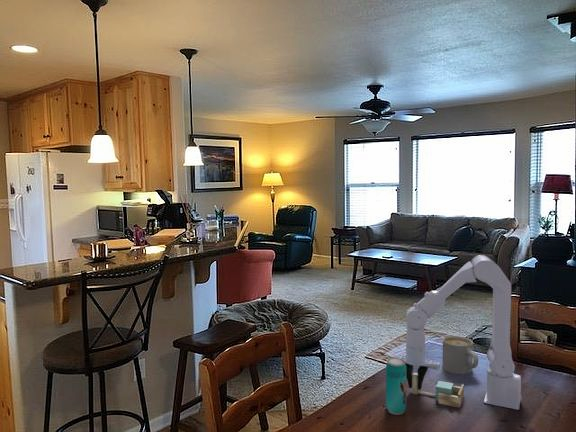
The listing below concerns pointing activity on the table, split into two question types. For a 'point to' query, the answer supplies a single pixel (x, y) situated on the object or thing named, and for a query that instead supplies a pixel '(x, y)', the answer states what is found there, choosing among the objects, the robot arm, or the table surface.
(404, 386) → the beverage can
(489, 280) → the robot arm
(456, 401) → the wooden bracket
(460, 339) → the coffee mug
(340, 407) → the table surface
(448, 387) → the tethered block
